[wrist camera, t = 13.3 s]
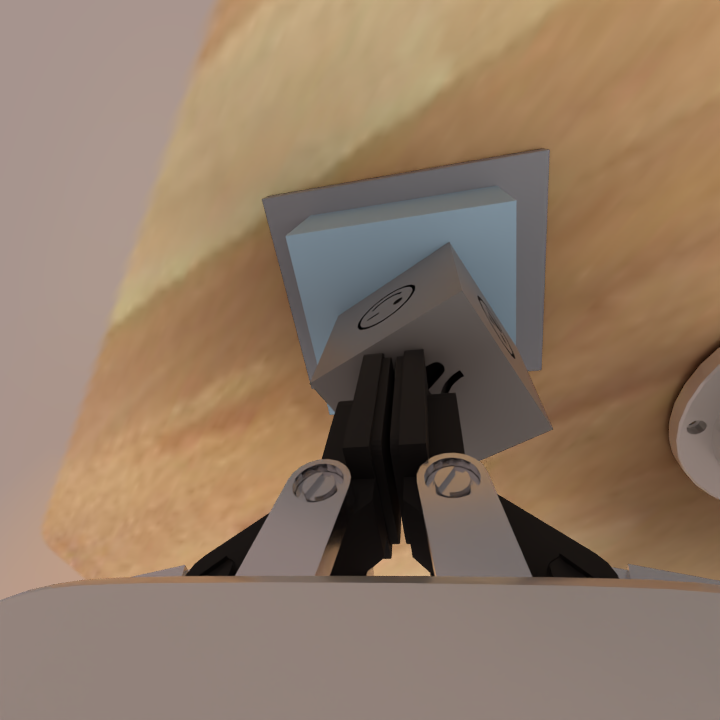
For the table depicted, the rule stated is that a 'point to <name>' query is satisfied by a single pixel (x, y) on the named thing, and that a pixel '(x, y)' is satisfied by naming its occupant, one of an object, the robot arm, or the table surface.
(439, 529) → the robot arm
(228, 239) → the table surface
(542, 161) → the base
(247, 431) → the table surface
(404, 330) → the dice cube
